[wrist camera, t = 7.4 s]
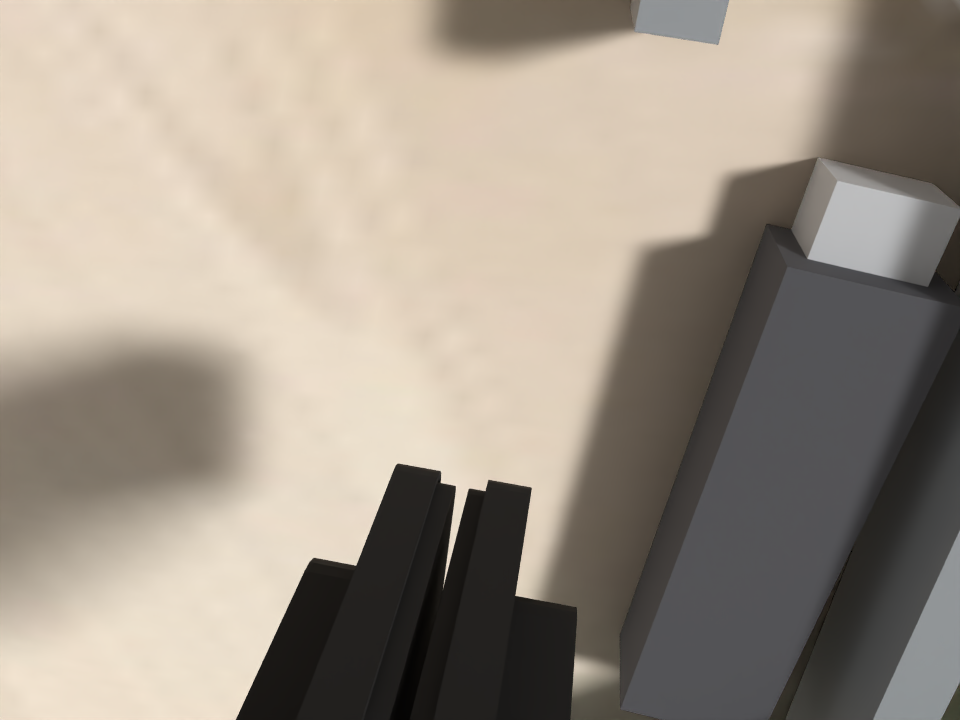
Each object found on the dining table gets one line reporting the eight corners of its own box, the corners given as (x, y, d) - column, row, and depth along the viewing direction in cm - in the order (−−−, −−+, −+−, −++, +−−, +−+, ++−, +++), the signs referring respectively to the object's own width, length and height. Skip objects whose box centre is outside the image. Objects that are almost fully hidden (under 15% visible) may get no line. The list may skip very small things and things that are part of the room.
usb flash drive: (792, 151, 14) (817, 186, 12) (958, 189, 14) (1007, 229, 12) (619, 633, 19) (620, 709, 17) (743, 664, 19) (757, 743, 17)
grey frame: (676, -230, 12) (696, -274, 9) (1216, -154, 12) (1408, -176, 9) (468, 837, 22) (447, 974, 19) (759, 898, 22) (782, 1048, 19)
